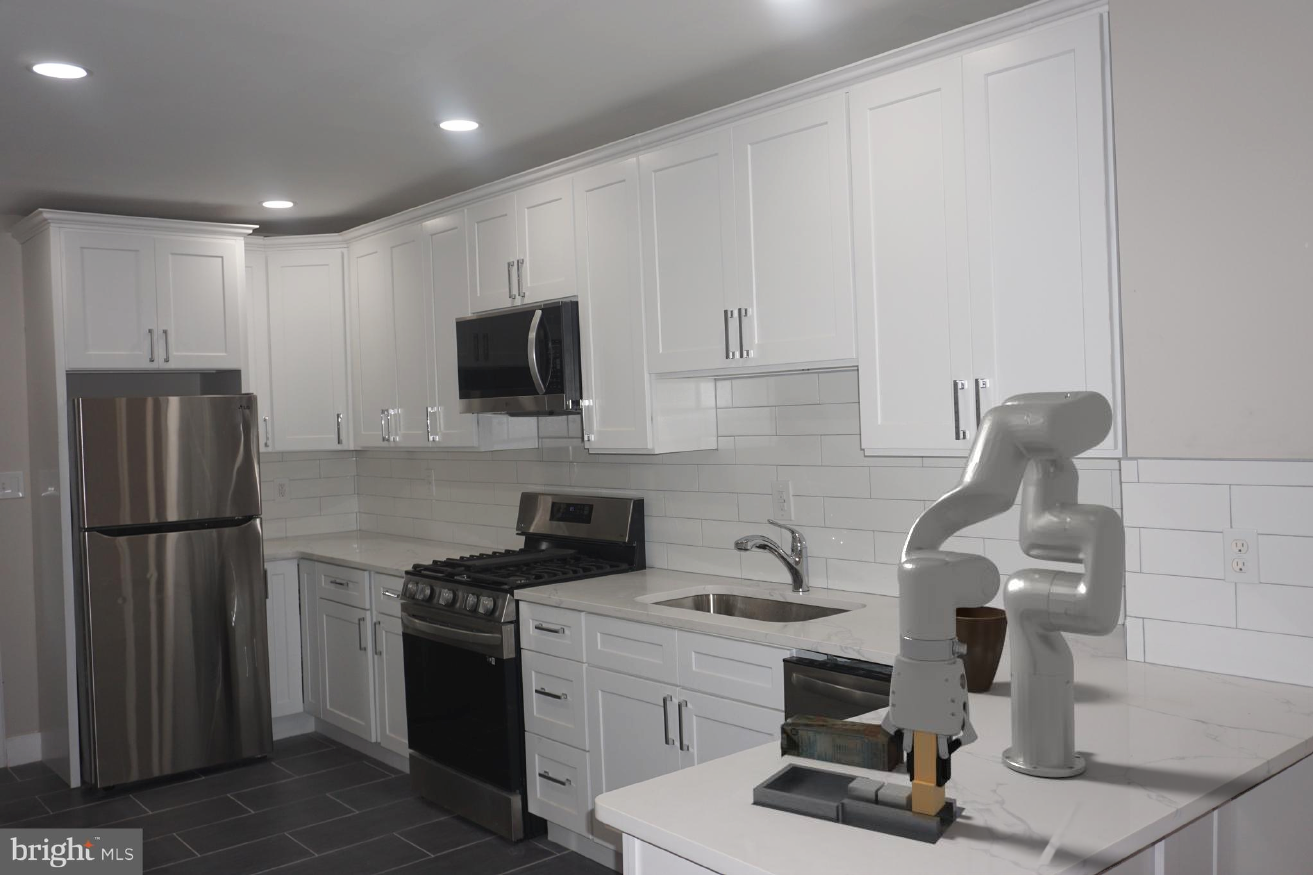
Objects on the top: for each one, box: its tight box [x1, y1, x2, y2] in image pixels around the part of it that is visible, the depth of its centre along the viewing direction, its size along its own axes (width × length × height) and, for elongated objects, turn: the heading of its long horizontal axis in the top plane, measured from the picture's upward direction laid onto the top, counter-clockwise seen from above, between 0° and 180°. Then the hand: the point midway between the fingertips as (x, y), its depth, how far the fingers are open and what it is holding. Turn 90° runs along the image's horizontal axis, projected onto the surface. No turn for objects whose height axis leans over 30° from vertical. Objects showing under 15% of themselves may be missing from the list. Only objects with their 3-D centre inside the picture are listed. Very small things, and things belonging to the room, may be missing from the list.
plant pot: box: [956, 605, 1008, 693], centre depth 207 cm, size 15×15×16 cm
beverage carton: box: [779, 713, 905, 773], centre depth 165 cm, size 8×19×7 cm, turn 59°
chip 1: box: [848, 776, 886, 805], centre depth 143 cm, size 4×4×4 cm
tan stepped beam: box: [911, 731, 946, 816], centre depth 137 cm, size 5×3×12 cm, turn 147°
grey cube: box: [878, 782, 916, 813], centre depth 140 cm, size 4×4×4 cm
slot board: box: [751, 762, 966, 845], centre depth 143 cm, size 14×27×3 cm, turn 57°
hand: (928, 780), depth 137 cm, fingers closed on tan stepped beam, 3 cm apart
